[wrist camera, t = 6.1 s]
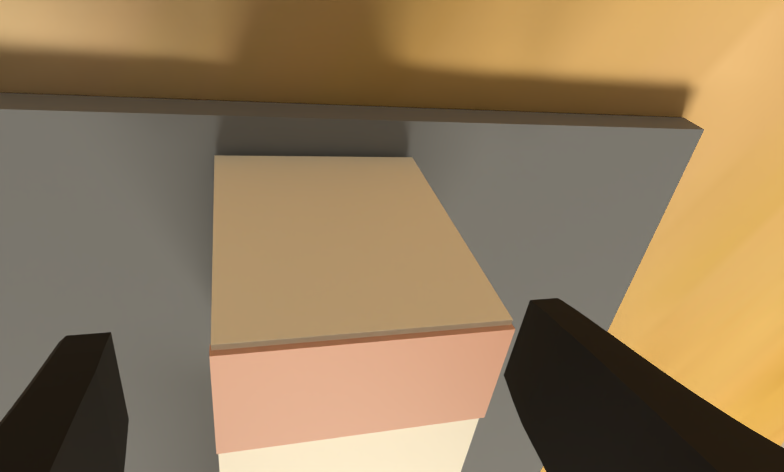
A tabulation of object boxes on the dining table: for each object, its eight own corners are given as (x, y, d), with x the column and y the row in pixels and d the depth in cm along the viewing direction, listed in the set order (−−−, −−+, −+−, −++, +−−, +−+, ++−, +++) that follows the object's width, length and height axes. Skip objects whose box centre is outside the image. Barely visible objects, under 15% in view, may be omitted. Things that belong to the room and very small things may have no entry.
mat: (48, 676, 23) (43, 699, 23) (-283, 82, 9) (-321, 99, 8) (475, 579, 29) (480, 595, 28) (683, 117, 15) (704, 129, 14)
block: (222, 335, 14) (224, 555, 9) (213, 155, 11) (208, 350, 7) (385, 322, 15) (450, 512, 11) (413, 157, 12) (517, 324, 8)
